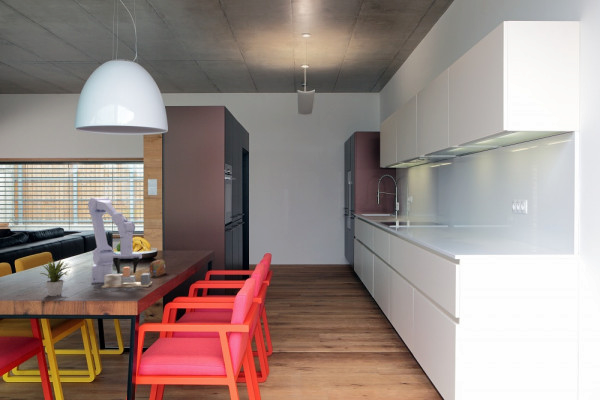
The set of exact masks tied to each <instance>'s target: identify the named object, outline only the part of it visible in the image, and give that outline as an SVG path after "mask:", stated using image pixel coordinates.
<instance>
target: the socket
mask: <svg viewBox="0 0 600 400" xmlns="http://www.w3.org/2000/svg"><path fill="white" fill-rule="evenodd" d="M140 282H141V285H148V284H149V283H150V282H151V274H150V272H143V273H141V274H140Z"/></svg>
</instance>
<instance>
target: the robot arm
mask: <svg viewBox="0 0 600 400" xmlns="http://www.w3.org/2000/svg"><path fill="white" fill-rule="evenodd" d="M87 207H88V213H89V215H90V218H91V224H92V227H93V228H92V229H93V233H94V238H95V244H96V248H95V249H94V250H93V251H92V254H93V255H92V261H93V263H94V264H93V265H92V268H91V283H92V284H98V283H99V284H100V283H103V284H104V276H105V275H107V274H113V265H114V266H115V269H116V272H117V273H116V274H121V267H120V266H121V259H132V264H133V268H132V269H133V270H132V271H133V274H135V273H136V272H137V267H138V264H139V262H140V259H142V258H143V254H142V253H134V251H133V244H134V243H133V233H135V230H136V225H135V222H134V221H132V220H131V221H130V220H128V218H126V217H125V216H124V215H123V212H118V211H117V210H116V209H115V207H114V206H113V204H112V200H111V199H110V198H109V197H91V198H90V199H89V200H88V203H87ZM106 213H107V214H108V215H109V216H110V217H111V221H112V222H113V223H114V225H116V227H117V231H118V235H119V237H120V238H119V239H120V240H119V241H120V245H119V246H120V248H119V249H120V250H119V251H120V252H119V254H118V253H116V254H115V251H114V248H113V247H112V246H110V245H109V244H108V240H107V234H106V229H105V224H104V220H103V219H104V218H103V216H105V215H106Z"/></svg>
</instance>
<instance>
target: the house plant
mask: <svg viewBox="0 0 600 400" xmlns="http://www.w3.org/2000/svg"><path fill="white" fill-rule="evenodd" d="M51 260H52V263H50V261H48V262H47V264H45V265H44V264H41V266H42V267H44V269H45V270H46V271H47V274H46V273H44V272H41V273H39V274H40V275H44V276H47V279H50V280H47V281H45V284H46V289H47V290H46V291H47V294H48V296H49V297H56V296H57V295H58V296H61V295H62V292H63V285H64V279H61V278H62V277H63V275H66V276H68V270H66V269H69V268H71V266H68V265H70V262H69V263H65V261H62V259H60V260H59V261H58V263H57V264H56V263H55V262H54V258H52V259H51ZM63 270H66V271H63ZM70 271H71V270H69V272H70ZM58 296H57V297H58Z"/></svg>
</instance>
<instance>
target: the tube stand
mask: <svg viewBox="0 0 600 400" xmlns="http://www.w3.org/2000/svg"><path fill="white" fill-rule="evenodd" d="M122 276H123V273H112V274H107V275H105V276H104V283H103V284H104V285H102V286H101V288H102V289H104V288H105V289H106V288H143V287H148V288H149V286H151V285H152V284H153V281H150V283H149V284H148V285H141V281H136V282H134V283H122Z"/></svg>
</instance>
